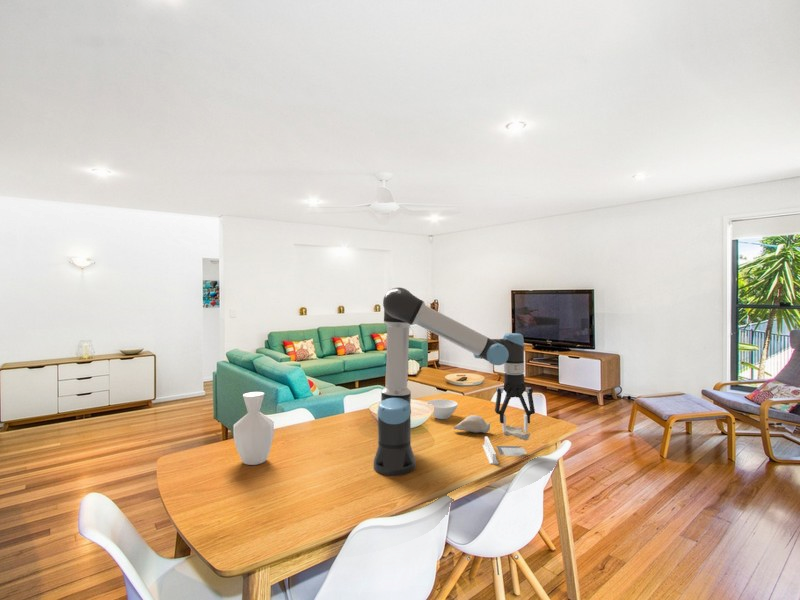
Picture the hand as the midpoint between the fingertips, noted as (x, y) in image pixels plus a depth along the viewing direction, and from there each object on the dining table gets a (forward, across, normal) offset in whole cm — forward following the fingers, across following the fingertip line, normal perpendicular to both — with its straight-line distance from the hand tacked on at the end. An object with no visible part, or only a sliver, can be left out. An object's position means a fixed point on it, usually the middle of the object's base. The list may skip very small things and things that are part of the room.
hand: (514, 431), depth 154 cm
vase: (+8, -99, -12) cm, 100 cm away
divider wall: (+8, -10, -3) cm, 13 cm away
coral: (+3, -3, +1) cm, 5 cm away
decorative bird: (+10, -20, +21) cm, 30 cm away
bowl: (+8, -26, +45) cm, 53 cm away
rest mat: (+8, 0, 0) cm, 8 cm away
